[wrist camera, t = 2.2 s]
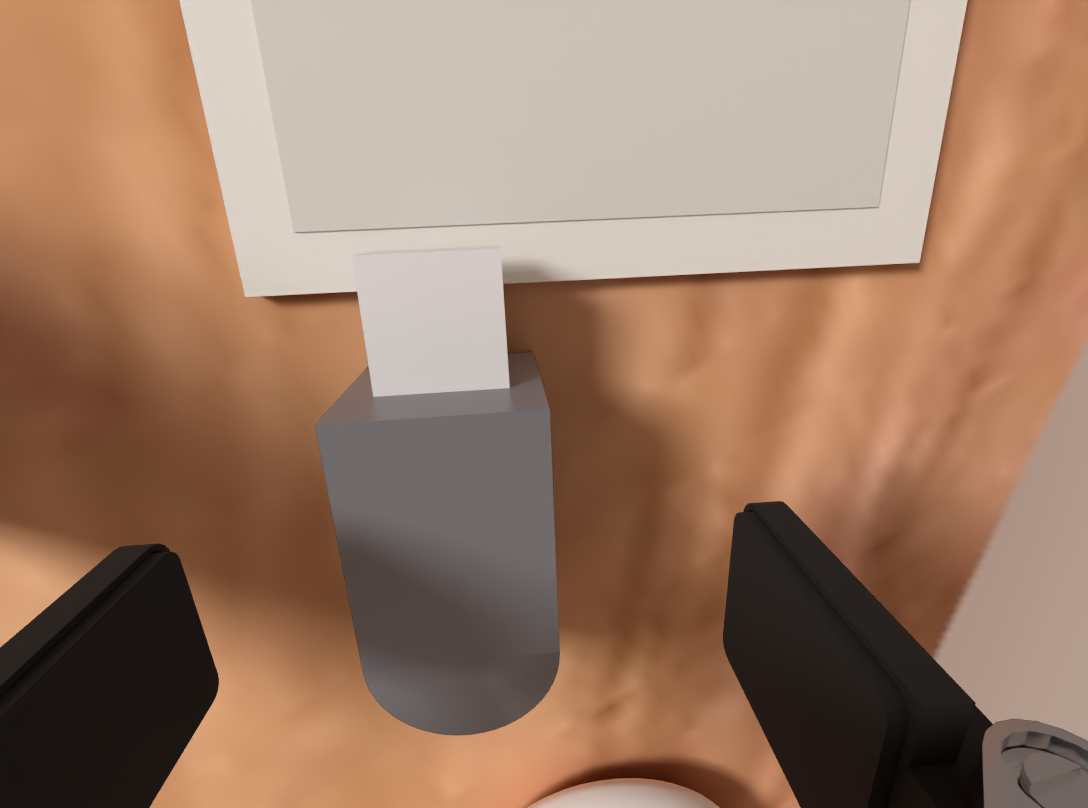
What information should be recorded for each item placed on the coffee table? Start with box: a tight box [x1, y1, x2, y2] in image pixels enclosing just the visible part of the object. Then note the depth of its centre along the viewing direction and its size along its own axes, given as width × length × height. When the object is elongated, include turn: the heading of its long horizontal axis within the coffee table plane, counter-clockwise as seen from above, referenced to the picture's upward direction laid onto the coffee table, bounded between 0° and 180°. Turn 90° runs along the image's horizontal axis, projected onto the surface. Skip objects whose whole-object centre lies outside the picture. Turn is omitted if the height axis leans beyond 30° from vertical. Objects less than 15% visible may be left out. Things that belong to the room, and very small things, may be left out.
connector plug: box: [315, 245, 560, 735], centre depth 13 cm, size 11×4×5 cm, turn 2°
